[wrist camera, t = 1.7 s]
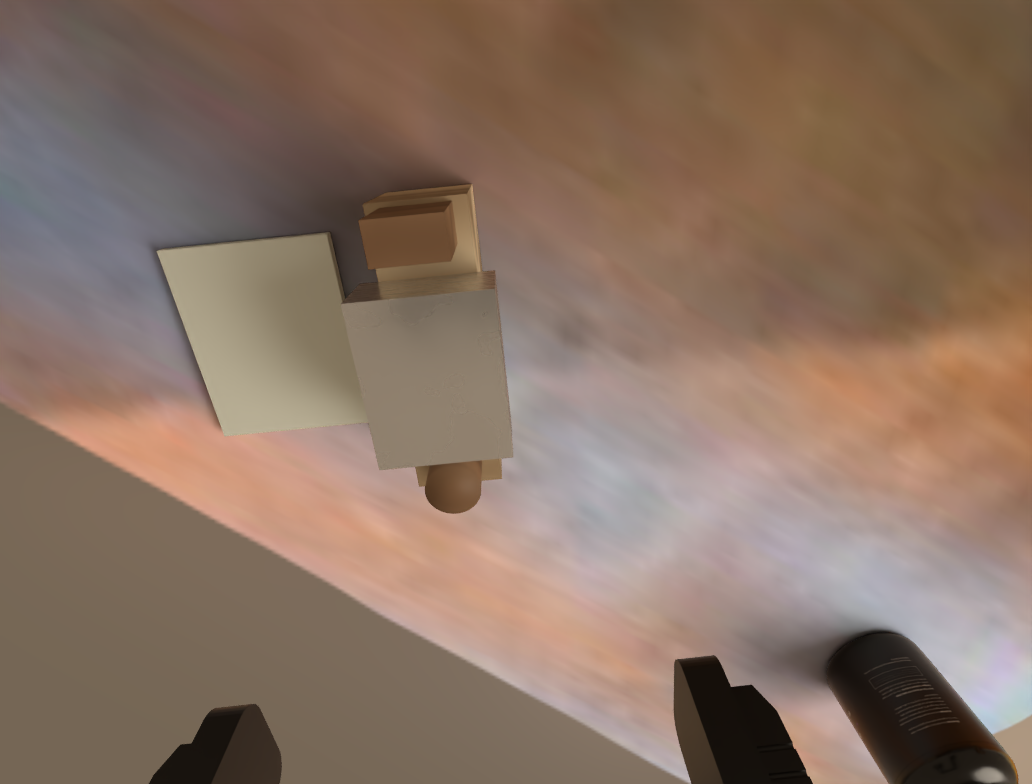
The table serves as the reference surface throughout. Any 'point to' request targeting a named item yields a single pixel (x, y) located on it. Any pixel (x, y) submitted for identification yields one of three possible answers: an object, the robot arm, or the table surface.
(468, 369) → the lever cap
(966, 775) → the supplement bottle
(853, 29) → the table surface
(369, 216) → the body
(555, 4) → the table surface
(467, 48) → the table surface
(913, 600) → the table surface
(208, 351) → the mat
